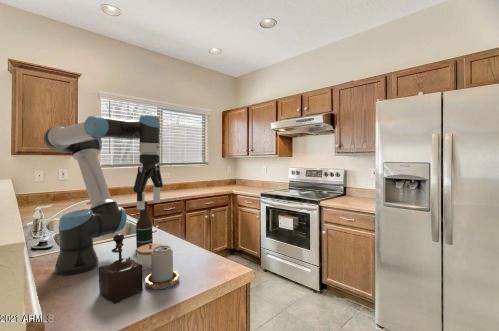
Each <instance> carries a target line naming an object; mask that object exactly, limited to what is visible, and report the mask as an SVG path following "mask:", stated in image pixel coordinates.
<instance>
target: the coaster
mask: <svg viewBox="0 0 499 331" xmlns="http://www.w3.org/2000/svg"><path fill="white" fill-rule="evenodd" d="M179 279H180V275H179V272H178V271H175V270H173V277H172V278H171V279H170V280H169V281H168V282H165V283H155V282H154V281H153V280H152V273H150V274H148V275H147V276H146V277H145V287H146V288H147V289H149V290H150V291H151V290H152V291H163V290H167V289H170V288H173V287H175V286H176V285H177V284H178V283H179Z"/></svg>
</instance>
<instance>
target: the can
mask: <svg viewBox="0 0 499 331" xmlns="http://www.w3.org/2000/svg"><path fill="white" fill-rule="evenodd" d="M161 245H162V246H157V247H155V248H154V249H153V250H154V251H153V252H152V253H151V263H152V268H151V274H152V280H153V281H154V282H155V283H165V282H168V281H169V280H170V279H171V278H172V277H173V271H174V259H173V258H174V256H173V255H174V253H173V252H174V251H173V250H172V247H171V246H170V245H164V244H161Z"/></svg>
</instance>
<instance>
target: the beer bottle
mask: <svg viewBox="0 0 499 331" xmlns="http://www.w3.org/2000/svg"><path fill="white" fill-rule="evenodd" d="M148 204H149V202H148V201H147V200H145V209H144V210H140V209H139V210H140V212H139V218H138V219H137V221H136V226H135V229H136V230H135V233H136V234H135V235H136V236H135V239H136V240H135V241H136V242H135V243H136V250H137V249H138V248H139V247H140V246H143V245H147V244H154V243H153V236H154V235H153V222H152V220H151V218H150V217H149V209H148Z"/></svg>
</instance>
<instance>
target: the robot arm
mask: <svg viewBox="0 0 499 331" xmlns="http://www.w3.org/2000/svg"><path fill="white" fill-rule="evenodd" d="M160 125H161V124H160V117H159V116H158V115H155V114H140V116H139V120H128V119H127V120H126V119H119V118H112V117H111V118H110V117H105V116H100V115H98V116H97V115H90V116H88V117H87V118H86V119H85V120H84V121H83V122H79V123H75V124H71V125H67V126H54V127H51V128H48V129H47V130H46V131H45V132H44V133H43V137H42V140H43V143H44V144H45V146H46V147H47V148H49V149H50V150H51V151H54V152H56V153H64V154H65V153H66V154H67V153H68V154H69V153H71V154H70V155H71V156H72V158H73V160H75V161H77V164H78V165H79V166H78V167H79V170H80V173H81V175H82V179H83V182H84V185H85V189H86V192H87V195H88V199H89V202H90V204H91V207H90V208H85V209H83V208H82V209H77V210H72V211H69V212H66V213H64V214H63V215H62V216H61V217H60V218H59V220H58V221H59V222H58V223H59V224H58V233H59V234H58V235H59V254H58V257H57V260H56V264H55V265H54V273H55V274H56V275H60V276H61V275H62V276H69V275H70V276H71V275H77V274H81V273H85V272H87V271H91V270H92V269H94V268H96V267H97V266H98V265H99V257H98V256H97V253H96V251H95V248H94V239H96V238H100V237H104V236H107V235H112V234H115V233H117V232H120V231H122V230H123V229H124V228H125V226H126V223H127V221H128V220H127V211H126V209H125V208H124V207H122V206H120V205H118V203H117V201H116V200H113V199H112V196H111V193H110V191H109V187H108V184H107V181H106V179H105V175H104V172H103V170H102V165H101V163H100V160H99V157H98V156H99V154H100V153H101V152H100V151H101V150H102V147H103V146H102V144H103V142H102V139H105V138H112V139H113V138H114V139H125V140H139V148H138V149H139V151H138V152H139V153H140V154H139V160H138V161H139V164H142V166H139V165H138V167H137V173H136V176H135V177H136V178H135V181H134V185H133V189H132V191H133V193H136V210H144V209H145V201H146V200H145V199H146V198H145V196H146V195H145V192H144V191H145V188H146V186H147V183H148V180H149V179H150V178H151V179H150V180H151V181H152V184H153V186H154V187H152V188H153V189H152V191H153V192H152V193H153V194H152V195H153V196H152V197H153V198H152V199H153V201H152V203H155V204H156V203H157V204H159V203H161V188H163V186H164V185H163V178H162V174H161V170H160V169H161V168H160V155H159V154H160V148H161V145H160V134H161V133H160V132H161V131H160V128H161V126H160Z"/></svg>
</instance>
